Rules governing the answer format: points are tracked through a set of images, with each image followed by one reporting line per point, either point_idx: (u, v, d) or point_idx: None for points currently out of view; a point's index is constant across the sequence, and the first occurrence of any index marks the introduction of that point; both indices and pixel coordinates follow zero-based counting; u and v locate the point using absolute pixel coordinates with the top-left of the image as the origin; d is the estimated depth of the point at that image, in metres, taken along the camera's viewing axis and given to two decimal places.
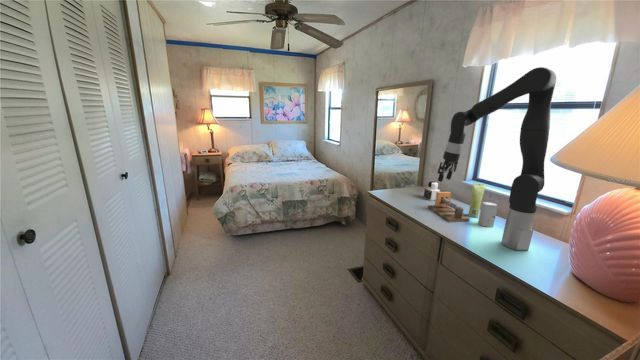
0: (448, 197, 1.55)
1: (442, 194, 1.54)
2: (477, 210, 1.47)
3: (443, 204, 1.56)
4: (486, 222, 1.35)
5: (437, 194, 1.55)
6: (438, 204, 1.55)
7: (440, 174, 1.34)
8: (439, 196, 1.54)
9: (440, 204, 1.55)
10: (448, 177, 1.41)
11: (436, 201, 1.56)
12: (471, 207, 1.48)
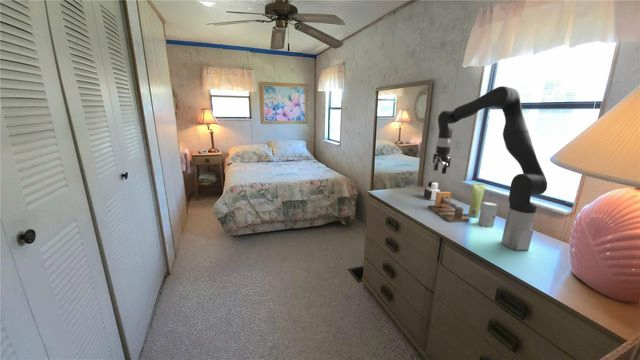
0: (448, 197, 1.55)
1: (442, 194, 1.54)
2: (477, 210, 1.47)
3: (443, 204, 1.56)
4: (486, 222, 1.35)
5: (437, 194, 1.55)
6: (438, 204, 1.55)
7: (445, 167, 1.52)
8: (439, 196, 1.54)
9: (440, 204, 1.55)
10: (436, 168, 1.62)
11: (436, 201, 1.56)
12: (471, 207, 1.48)
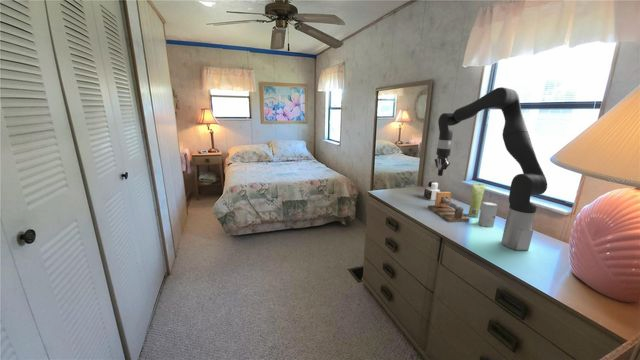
0: (448, 197, 1.55)
1: (442, 194, 1.54)
2: (477, 210, 1.47)
3: (443, 204, 1.56)
4: (486, 222, 1.35)
5: (437, 194, 1.55)
6: (438, 204, 1.55)
7: (442, 169, 1.56)
8: (439, 196, 1.54)
9: (440, 204, 1.55)
10: None
11: (436, 201, 1.56)
12: (471, 207, 1.48)
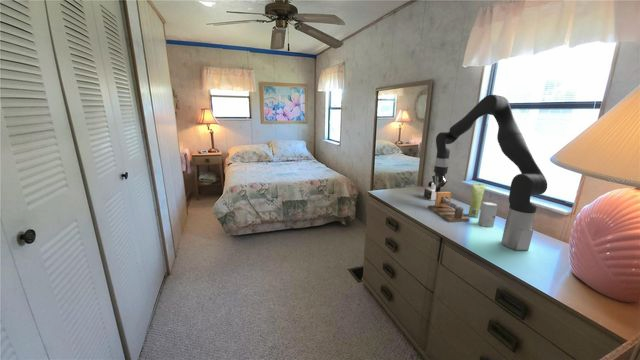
0: (448, 197, 1.55)
1: (442, 194, 1.54)
2: (477, 210, 1.47)
3: (443, 204, 1.56)
4: (486, 222, 1.35)
5: (437, 194, 1.55)
6: (438, 204, 1.55)
7: (439, 187, 1.59)
8: (439, 196, 1.54)
9: (440, 204, 1.55)
10: None
11: (436, 201, 1.56)
12: (471, 207, 1.48)
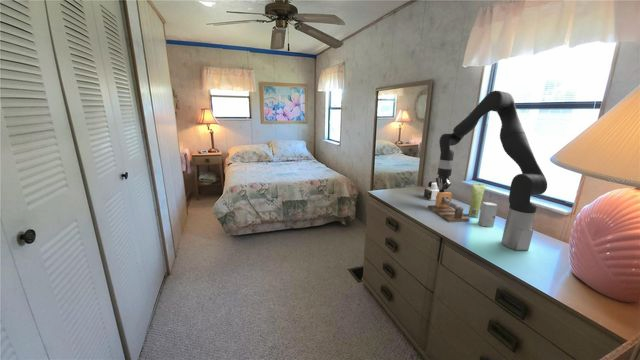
0: (449, 197, 1.54)
1: (443, 194, 1.53)
2: (477, 210, 1.47)
3: (444, 204, 1.55)
4: (486, 222, 1.35)
5: (438, 194, 1.54)
6: (439, 204, 1.54)
7: (443, 189, 1.55)
8: (440, 196, 1.53)
9: (441, 204, 1.55)
10: None
11: (437, 201, 1.55)
12: (471, 207, 1.48)
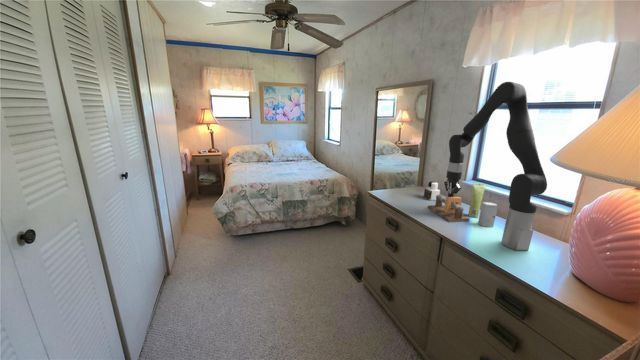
0: (458, 202, 1.45)
1: (452, 199, 1.44)
2: (477, 210, 1.47)
3: (453, 210, 1.46)
4: (486, 222, 1.35)
5: (447, 199, 1.45)
6: (448, 209, 1.46)
7: (452, 193, 1.47)
8: (449, 201, 1.44)
9: (450, 210, 1.46)
10: None
11: (446, 207, 1.46)
12: (471, 207, 1.48)
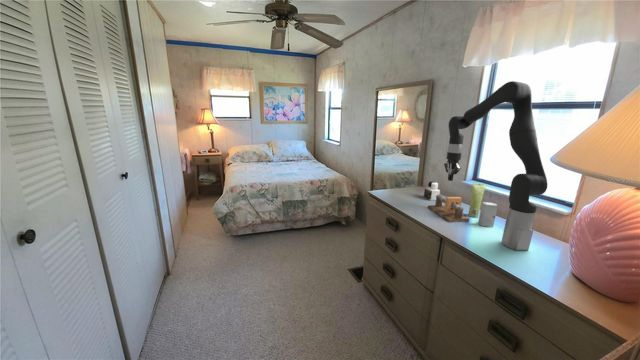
0: (459, 203, 1.45)
1: (452, 199, 1.44)
2: (477, 210, 1.47)
3: (453, 210, 1.46)
4: (486, 222, 1.35)
5: (447, 199, 1.45)
6: (448, 209, 1.46)
7: (452, 174, 1.51)
8: (449, 202, 1.44)
9: (450, 210, 1.46)
10: None
11: (446, 207, 1.46)
12: (471, 207, 1.48)
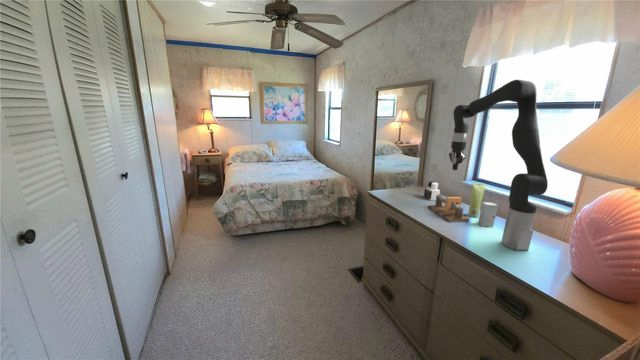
0: (459, 203, 1.45)
1: (452, 199, 1.44)
2: (477, 210, 1.47)
3: (453, 210, 1.46)
4: (486, 222, 1.35)
5: (447, 199, 1.45)
6: (448, 209, 1.46)
7: (457, 163, 1.52)
8: (449, 202, 1.44)
9: (450, 210, 1.46)
10: None
11: (446, 207, 1.46)
12: (471, 207, 1.48)
